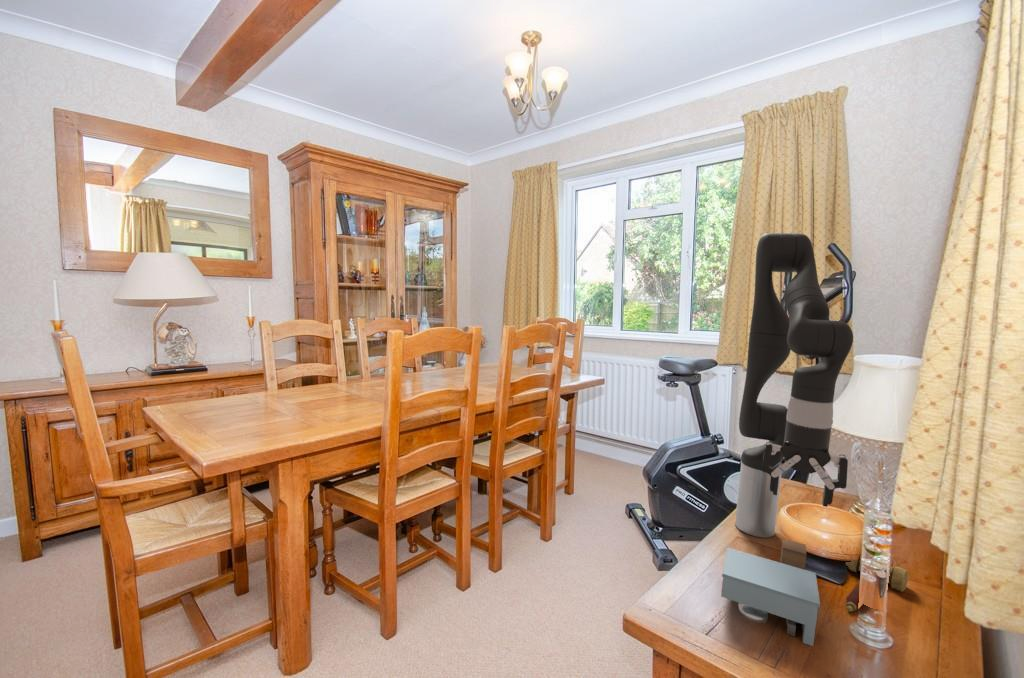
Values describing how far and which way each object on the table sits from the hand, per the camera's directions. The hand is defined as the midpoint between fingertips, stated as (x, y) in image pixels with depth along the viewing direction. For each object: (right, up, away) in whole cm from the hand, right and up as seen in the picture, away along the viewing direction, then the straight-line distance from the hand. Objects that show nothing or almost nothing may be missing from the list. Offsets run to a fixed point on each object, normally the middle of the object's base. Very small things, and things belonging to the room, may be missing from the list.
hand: (799, 499), depth 93 cm
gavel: (+15, -21, +3) cm, 26 cm away
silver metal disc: (-12, -20, -5) cm, 24 cm away
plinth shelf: (-9, -20, -4) cm, 23 cm away
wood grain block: (-4, -20, -3) cm, 21 cm away
